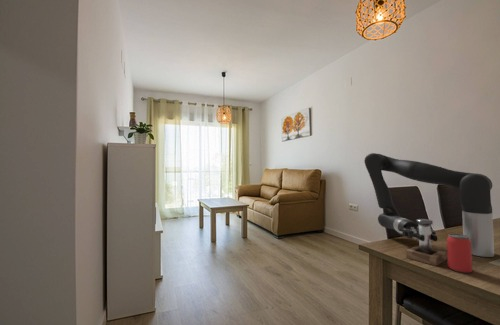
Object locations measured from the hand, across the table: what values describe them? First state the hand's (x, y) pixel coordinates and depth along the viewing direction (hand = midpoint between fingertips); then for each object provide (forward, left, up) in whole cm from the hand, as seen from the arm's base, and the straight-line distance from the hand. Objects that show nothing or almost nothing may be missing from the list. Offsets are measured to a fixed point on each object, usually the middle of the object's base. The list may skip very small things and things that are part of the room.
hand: (429, 238), depth 93 cm
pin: (-2, -2, -8) cm, 8 cm away
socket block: (-2, -2, -9) cm, 9 cm away
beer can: (0, +9, -9) cm, 13 cm away
